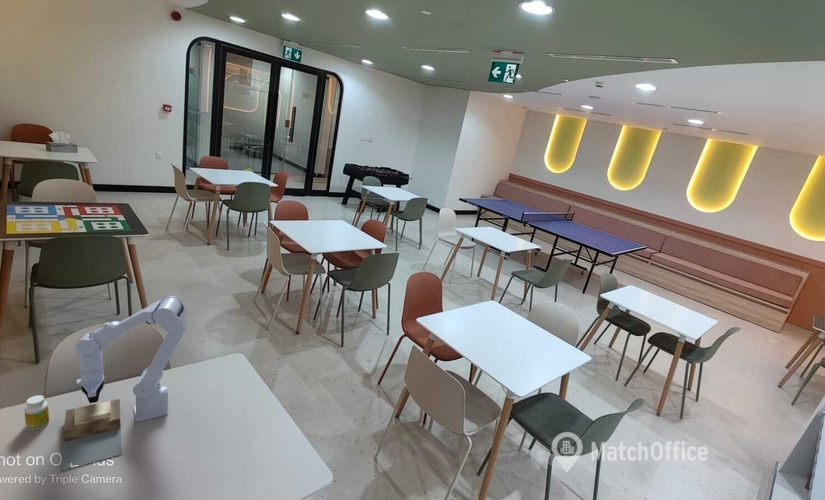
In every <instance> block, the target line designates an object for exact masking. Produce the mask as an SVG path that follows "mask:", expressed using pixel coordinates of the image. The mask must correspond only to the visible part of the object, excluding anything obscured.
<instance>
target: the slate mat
mask: <svg viewBox="0 0 825 500" xmlns="http://www.w3.org/2000/svg"><path fill="white" fill-rule="evenodd" d="M121 429H122V428H119V429H115V430H111V431H107V432H102V433H98V434H94V435H90V436H86V437H82V438H77V439H73V440H69V441H65V442H64V441H63V450H62V459H61V466H60V467H61V468H60V472H61V473H62V472H64V471H65V472H66V471H69V470H71V469H70V468H71V466H69V465H71V463H72V465H79V466H80V467H82V466H81V465H84V464H87V465H89V464H88V463H91V464H94V463H93V462H95V463H98V462H102V461H104V460H108V459H109V460H110V459H113V458H116V457H120V456H122V433H121V431H122V430H121ZM84 466H85V465H84Z"/></svg>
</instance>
